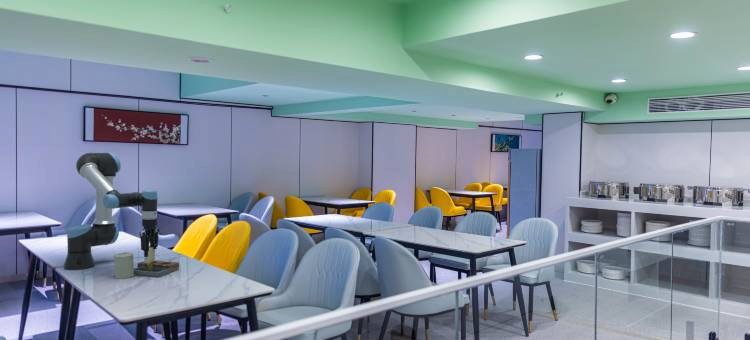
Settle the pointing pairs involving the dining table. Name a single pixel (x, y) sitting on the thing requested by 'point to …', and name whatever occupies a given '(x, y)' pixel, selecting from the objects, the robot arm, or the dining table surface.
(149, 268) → the brass pin
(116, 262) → the can
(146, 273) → the tray
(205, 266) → the dining table surface
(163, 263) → the block
